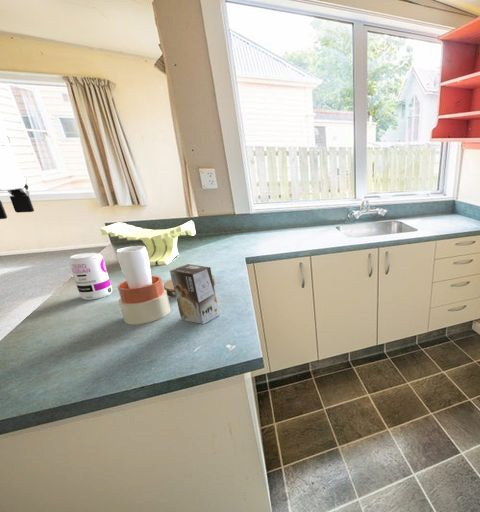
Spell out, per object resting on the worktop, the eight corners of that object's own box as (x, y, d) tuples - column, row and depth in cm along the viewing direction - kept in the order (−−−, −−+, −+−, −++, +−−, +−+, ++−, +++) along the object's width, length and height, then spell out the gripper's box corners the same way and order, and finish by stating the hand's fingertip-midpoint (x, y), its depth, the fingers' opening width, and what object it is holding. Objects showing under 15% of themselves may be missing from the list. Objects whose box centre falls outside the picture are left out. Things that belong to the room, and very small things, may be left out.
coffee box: (220, 314, 93) (212, 266, 88) (203, 325, 87) (193, 274, 82) (197, 310, 95) (188, 263, 90) (179, 319, 89) (168, 270, 84)
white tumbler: (123, 298, 88) (109, 250, 83) (147, 289, 94) (135, 244, 90) (139, 302, 86) (126, 253, 81) (162, 292, 92) (151, 246, 88)
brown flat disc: (223, 286, 113) (222, 278, 113) (177, 301, 101) (176, 293, 100) (202, 277, 122) (200, 270, 121) (157, 290, 109) (155, 282, 108)
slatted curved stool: (199, 253, 152) (193, 219, 146) (188, 263, 137) (180, 225, 132) (131, 256, 145) (122, 220, 139) (111, 267, 130) (100, 228, 125)
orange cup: (121, 326, 86) (111, 291, 82) (133, 310, 95) (124, 278, 91) (164, 319, 90) (156, 286, 86) (171, 304, 99) (164, 274, 95)
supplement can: (113, 288, 110) (101, 250, 105) (112, 296, 104) (100, 255, 99) (82, 294, 105) (69, 254, 100) (80, 303, 99) (66, 260, 94)
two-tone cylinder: (118, 327, 85) (111, 307, 83) (131, 309, 95) (126, 291, 93) (166, 319, 89) (161, 300, 87) (174, 303, 99) (170, 285, 97)
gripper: (-13, 139, 71) (14, 210, 76) (-82, 134, 56) (-43, 223, 61) (30, 140, 74) (53, 209, 79) (-24, 136, 59) (8, 221, 64)
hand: (11, 215), depth 70 cm, fingers open, 9 cm apart
